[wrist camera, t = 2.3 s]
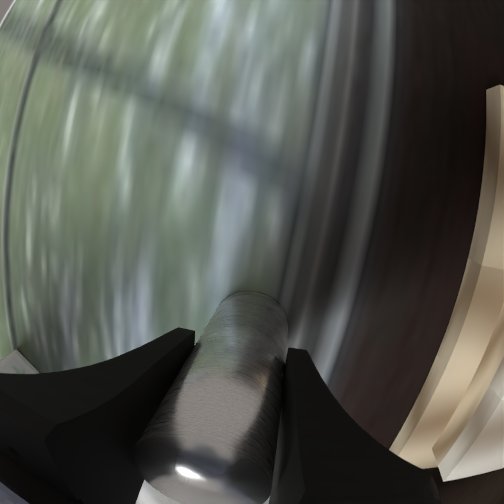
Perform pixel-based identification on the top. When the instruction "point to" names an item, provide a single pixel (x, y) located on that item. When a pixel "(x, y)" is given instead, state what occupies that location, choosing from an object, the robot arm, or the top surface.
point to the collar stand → (469, 344)
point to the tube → (222, 410)
